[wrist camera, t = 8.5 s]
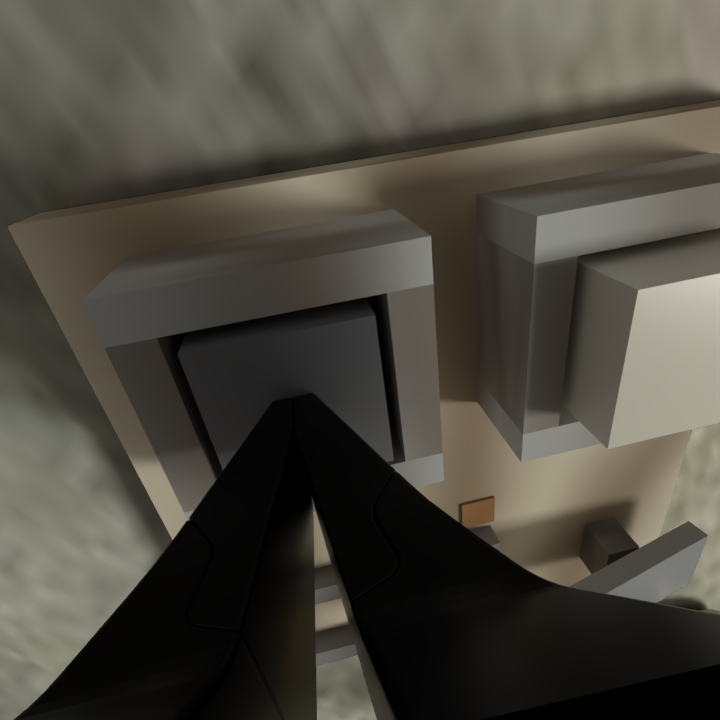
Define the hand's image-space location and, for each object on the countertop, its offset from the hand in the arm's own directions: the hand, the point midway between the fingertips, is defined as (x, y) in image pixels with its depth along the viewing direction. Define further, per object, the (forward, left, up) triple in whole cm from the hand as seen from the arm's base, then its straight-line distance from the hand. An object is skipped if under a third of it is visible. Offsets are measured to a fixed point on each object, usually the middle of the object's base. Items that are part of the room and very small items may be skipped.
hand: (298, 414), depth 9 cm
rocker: (+10, -11, -1) cm, 15 cm away
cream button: (+8, 0, -1) cm, 8 cm away
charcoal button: (0, 0, -2) cm, 2 cm away
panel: (+4, -5, -4) cm, 8 cm away
